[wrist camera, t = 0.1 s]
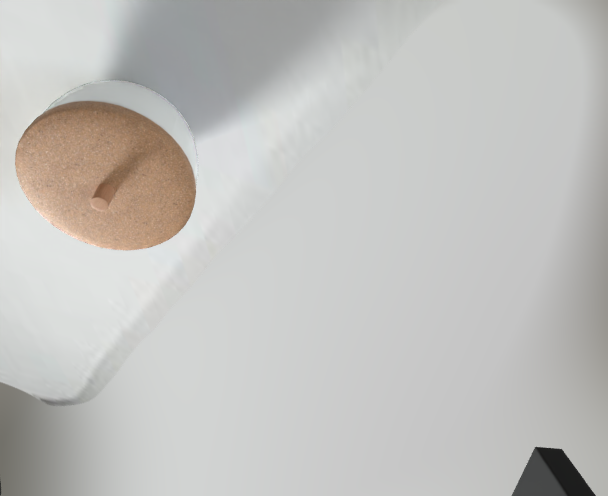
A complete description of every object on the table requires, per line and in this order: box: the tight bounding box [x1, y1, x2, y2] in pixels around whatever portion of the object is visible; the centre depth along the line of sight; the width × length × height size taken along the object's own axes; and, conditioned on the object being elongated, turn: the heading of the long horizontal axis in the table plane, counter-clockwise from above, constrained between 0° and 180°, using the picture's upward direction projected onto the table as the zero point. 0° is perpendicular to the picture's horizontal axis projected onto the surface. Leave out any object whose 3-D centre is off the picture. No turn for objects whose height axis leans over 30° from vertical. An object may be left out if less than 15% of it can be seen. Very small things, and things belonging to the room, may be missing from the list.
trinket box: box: [15, 80, 198, 250], centre depth 33 cm, size 11×11×9 cm
